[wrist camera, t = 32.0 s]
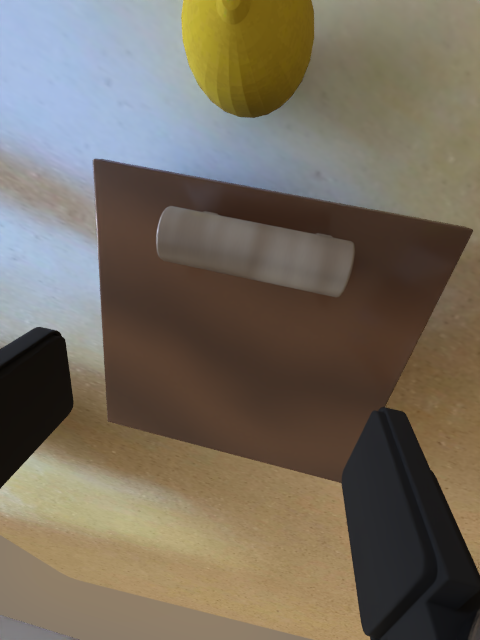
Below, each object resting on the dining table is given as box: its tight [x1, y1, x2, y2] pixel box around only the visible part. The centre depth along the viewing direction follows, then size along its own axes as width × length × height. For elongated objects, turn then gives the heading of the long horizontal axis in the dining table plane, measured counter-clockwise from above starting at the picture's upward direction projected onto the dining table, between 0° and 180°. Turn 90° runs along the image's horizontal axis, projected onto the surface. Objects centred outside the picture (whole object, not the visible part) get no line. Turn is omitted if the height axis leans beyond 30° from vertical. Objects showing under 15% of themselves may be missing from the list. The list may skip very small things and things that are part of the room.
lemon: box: [181, 0, 314, 118], centre depth 13 cm, size 6×6×8 cm
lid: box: [93, 159, 473, 483], centre depth 15 cm, size 16×16×6 cm
